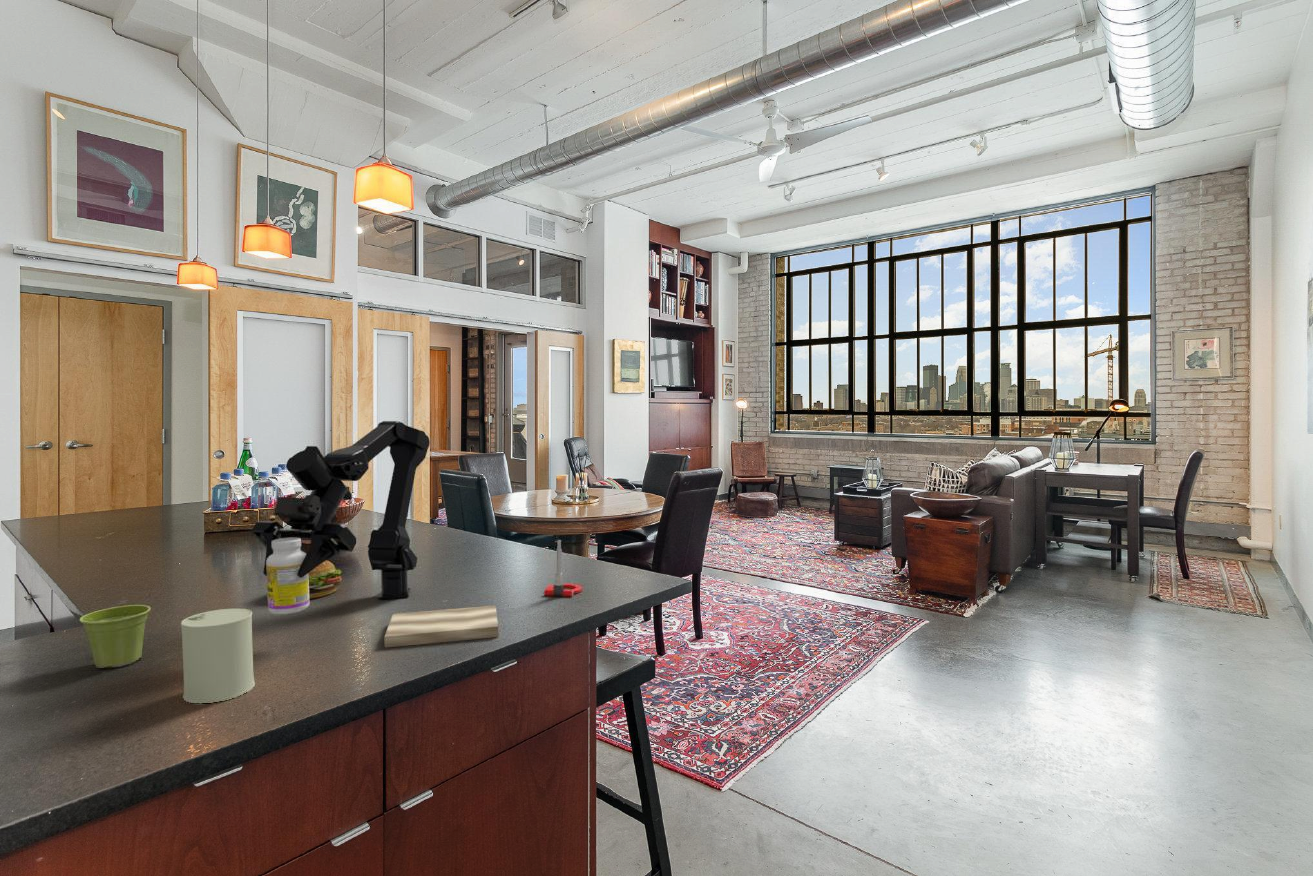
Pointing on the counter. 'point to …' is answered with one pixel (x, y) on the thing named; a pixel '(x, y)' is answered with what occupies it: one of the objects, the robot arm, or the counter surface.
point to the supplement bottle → (286, 577)
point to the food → (323, 580)
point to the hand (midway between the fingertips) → (282, 575)
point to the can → (217, 655)
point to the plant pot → (116, 633)
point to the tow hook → (559, 587)
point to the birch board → (441, 626)
